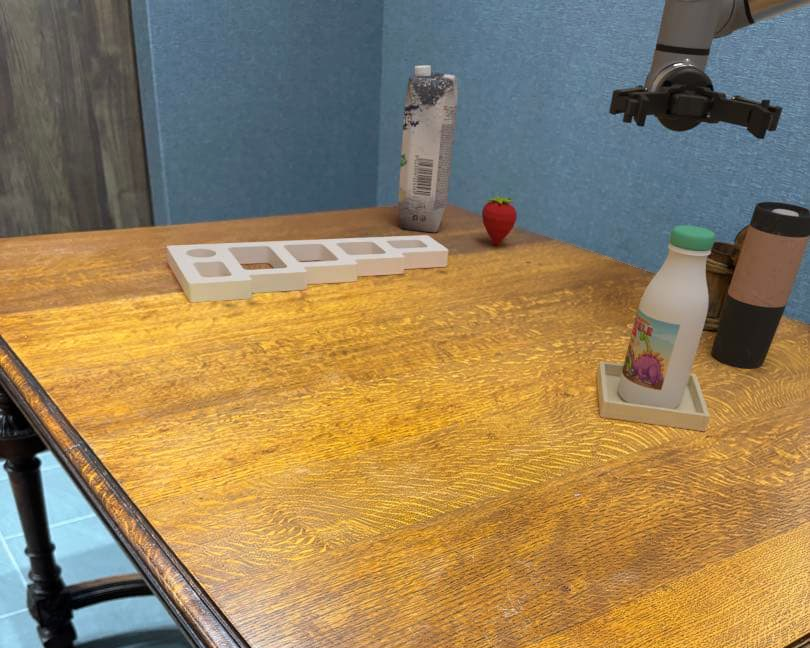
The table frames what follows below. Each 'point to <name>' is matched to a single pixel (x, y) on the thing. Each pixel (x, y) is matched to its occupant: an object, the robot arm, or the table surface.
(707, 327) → the wooden mug
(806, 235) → the travel mug
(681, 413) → the cream tray
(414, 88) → the juice carton
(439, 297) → the table surface
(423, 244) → the holder
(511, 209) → the strawberry
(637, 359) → the milk bottle
